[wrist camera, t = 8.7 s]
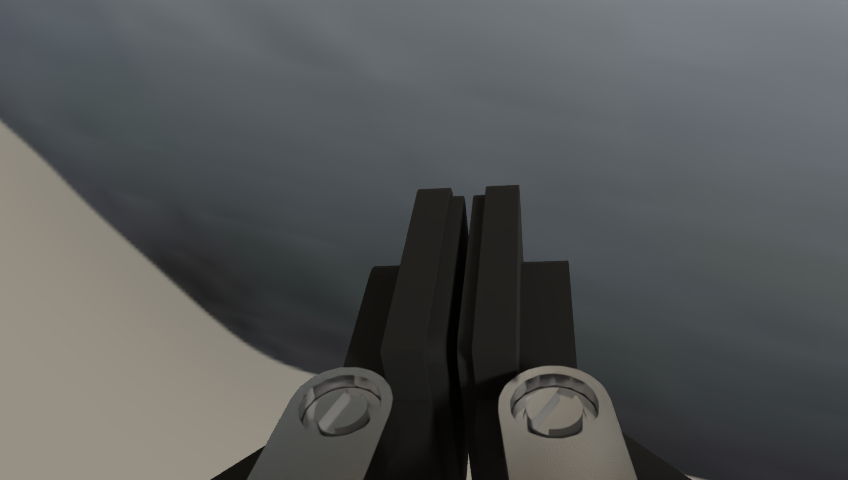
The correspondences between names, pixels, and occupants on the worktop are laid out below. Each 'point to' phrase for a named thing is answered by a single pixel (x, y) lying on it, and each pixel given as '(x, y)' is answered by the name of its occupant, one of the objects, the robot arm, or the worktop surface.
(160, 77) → the worktop surface
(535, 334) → the robot arm
